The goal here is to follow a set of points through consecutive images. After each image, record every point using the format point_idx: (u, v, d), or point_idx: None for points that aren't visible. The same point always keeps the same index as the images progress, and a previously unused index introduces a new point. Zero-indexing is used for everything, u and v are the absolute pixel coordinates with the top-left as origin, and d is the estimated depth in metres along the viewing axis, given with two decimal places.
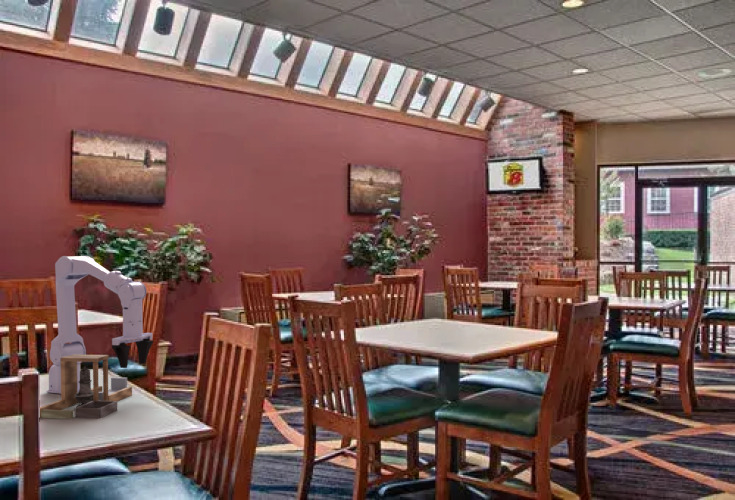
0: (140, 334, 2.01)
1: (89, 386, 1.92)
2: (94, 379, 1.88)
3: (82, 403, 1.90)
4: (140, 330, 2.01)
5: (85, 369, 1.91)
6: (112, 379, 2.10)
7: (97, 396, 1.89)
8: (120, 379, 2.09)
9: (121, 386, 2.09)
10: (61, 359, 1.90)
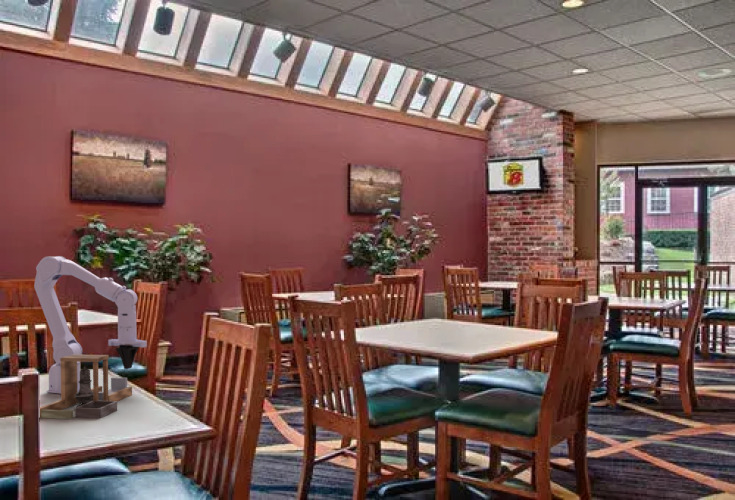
0: (121, 340, 2.12)
1: (89, 386, 1.92)
2: (94, 379, 1.88)
3: (82, 403, 1.90)
4: (121, 336, 2.12)
5: (85, 369, 1.91)
6: (112, 379, 2.10)
7: (97, 396, 1.89)
8: (120, 379, 2.09)
9: (121, 386, 2.09)
10: (61, 359, 1.90)
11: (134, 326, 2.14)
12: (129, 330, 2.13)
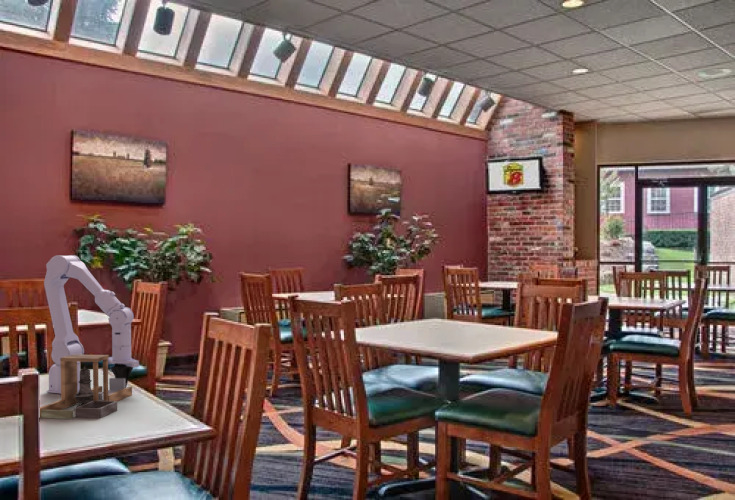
0: (114, 359, 2.09)
1: (89, 386, 1.92)
2: (94, 379, 1.88)
3: (82, 403, 1.90)
4: (114, 355, 2.09)
5: (85, 369, 1.91)
6: (110, 380, 2.09)
7: (97, 396, 1.89)
8: (118, 380, 2.08)
9: (119, 386, 2.08)
10: (61, 359, 1.90)
11: (128, 345, 2.11)
12: (122, 349, 2.09)
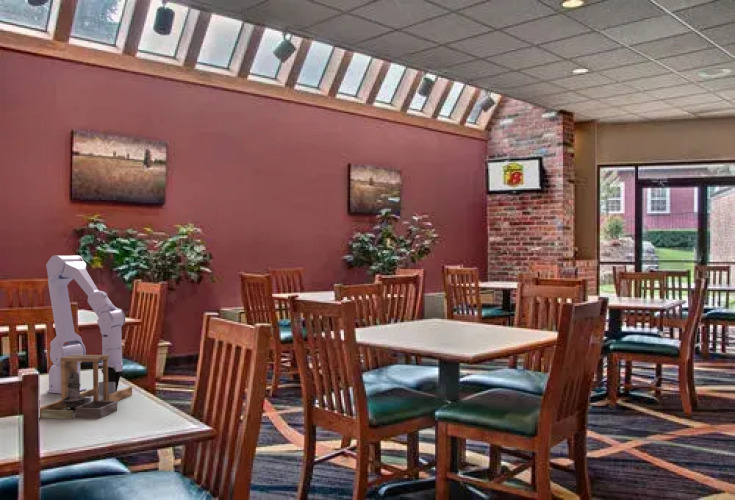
0: None
1: (78, 390, 1.86)
2: (94, 379, 1.88)
3: (71, 408, 1.85)
4: None
5: (74, 373, 1.86)
6: (100, 383, 2.03)
7: (97, 396, 1.89)
8: (108, 383, 2.03)
9: (109, 390, 2.03)
10: (61, 359, 1.90)
11: (115, 348, 2.04)
12: (109, 352, 2.03)
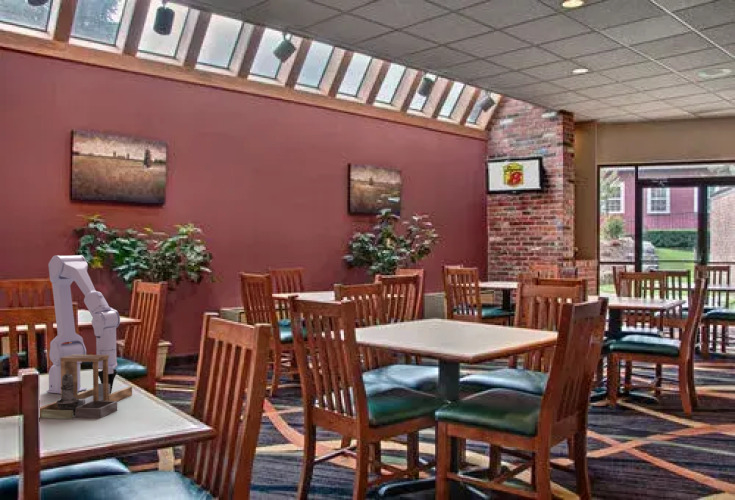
0: None
1: (72, 392, 1.83)
2: (94, 379, 1.88)
3: None
4: None
5: (68, 374, 1.83)
6: None
7: (97, 396, 1.89)
8: None
9: None
10: (61, 359, 1.90)
11: (108, 350, 2.01)
12: (102, 354, 2.00)
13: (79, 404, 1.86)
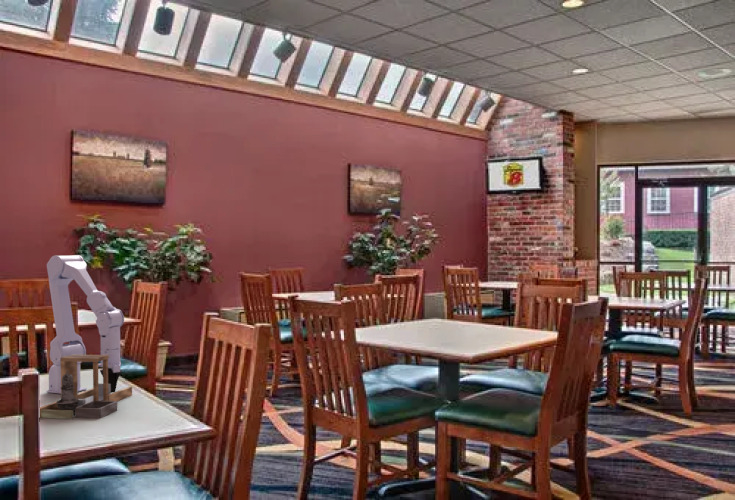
0: (101, 362, 2.04)
1: (72, 392, 1.83)
2: (94, 379, 1.88)
3: None
4: None
5: (68, 375, 1.83)
6: None
7: (97, 396, 1.89)
8: None
9: None
10: (61, 359, 1.90)
11: (113, 349, 2.03)
12: (107, 353, 2.03)
13: (79, 404, 1.86)
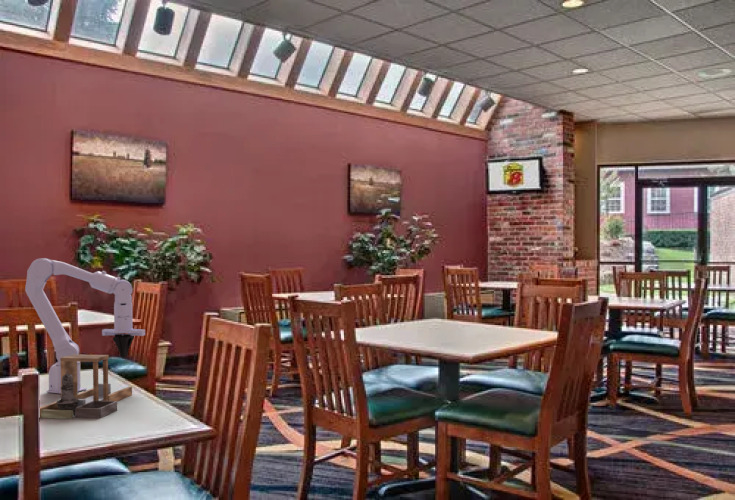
0: (119, 329, 2.16)
1: (72, 392, 1.83)
2: (94, 379, 1.88)
3: None
4: (119, 325, 2.16)
5: (68, 375, 1.83)
6: None
7: (97, 396, 1.89)
8: None
9: None
10: (61, 359, 1.90)
11: (131, 315, 2.19)
12: (127, 319, 2.17)
13: (79, 404, 1.86)
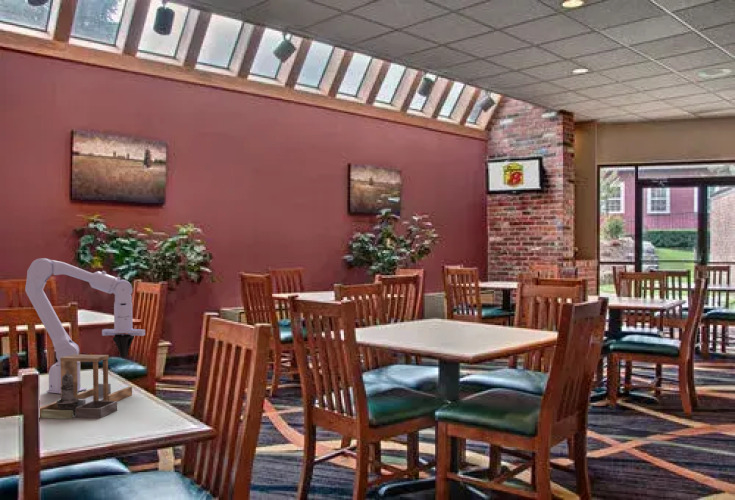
0: (119, 329, 2.16)
1: (72, 392, 1.83)
2: (94, 379, 1.88)
3: None
4: (119, 325, 2.16)
5: (68, 375, 1.83)
6: None
7: (97, 396, 1.89)
8: None
9: None
10: (61, 359, 1.90)
11: (131, 315, 2.19)
12: (127, 319, 2.17)
13: (79, 404, 1.86)
